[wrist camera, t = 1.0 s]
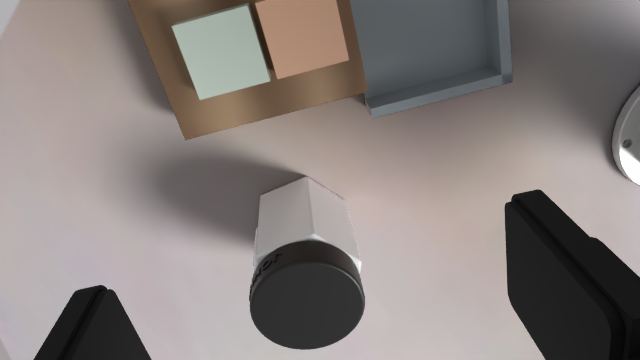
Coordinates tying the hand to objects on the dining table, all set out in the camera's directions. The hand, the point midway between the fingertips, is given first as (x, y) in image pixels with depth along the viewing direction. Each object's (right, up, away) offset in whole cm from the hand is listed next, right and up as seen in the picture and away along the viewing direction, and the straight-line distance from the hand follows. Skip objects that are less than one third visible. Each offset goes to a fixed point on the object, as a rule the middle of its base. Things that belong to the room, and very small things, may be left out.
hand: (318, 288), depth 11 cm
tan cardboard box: (-5, +14, +24) cm, 28 cm away
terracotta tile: (-1, +13, +21) cm, 25 cm away
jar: (-2, -1, +32) cm, 33 cm away
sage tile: (-6, +12, +21) cm, 25 cm away
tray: (+7, +17, +24) cm, 30 cm away
